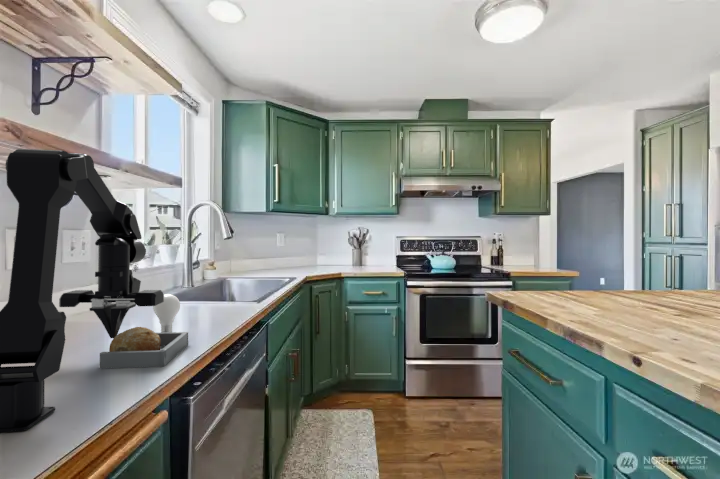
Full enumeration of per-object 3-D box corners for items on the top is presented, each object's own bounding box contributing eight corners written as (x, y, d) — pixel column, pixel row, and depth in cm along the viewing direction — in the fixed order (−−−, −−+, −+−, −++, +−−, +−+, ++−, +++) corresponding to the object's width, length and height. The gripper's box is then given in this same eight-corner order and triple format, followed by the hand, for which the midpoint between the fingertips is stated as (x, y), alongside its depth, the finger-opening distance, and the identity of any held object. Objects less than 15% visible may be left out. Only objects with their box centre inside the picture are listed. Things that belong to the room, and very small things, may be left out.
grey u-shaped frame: (164, 366, 78) (164, 351, 78) (99, 368, 76) (99, 353, 76) (188, 344, 93) (188, 331, 93) (135, 345, 92) (135, 333, 92)
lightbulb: (172, 339, 98) (172, 296, 98) (147, 338, 98) (148, 295, 98) (184, 332, 104) (184, 292, 104) (161, 332, 104) (161, 292, 104)
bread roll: (105, 379, 80) (99, 349, 77) (118, 345, 89) (114, 317, 85) (158, 374, 83) (154, 345, 79) (166, 342, 92) (163, 315, 88)
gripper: (172, 263, 93) (171, 328, 93) (88, 263, 90) (87, 329, 90) (154, 267, 82) (153, 340, 82) (57, 267, 79) (57, 342, 79)
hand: (113, 337), depth 84 cm, fingers closed
